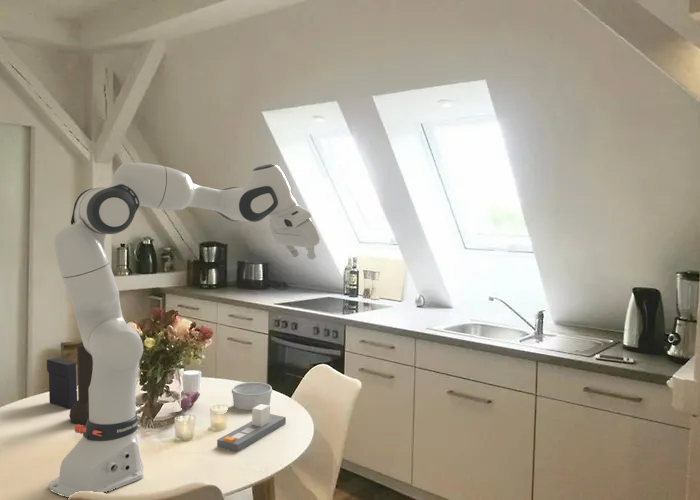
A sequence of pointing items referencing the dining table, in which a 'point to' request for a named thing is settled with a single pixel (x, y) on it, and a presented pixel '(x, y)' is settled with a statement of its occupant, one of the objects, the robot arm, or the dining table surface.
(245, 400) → the ramekin
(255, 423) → the charger
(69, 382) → the dark blue lidded box
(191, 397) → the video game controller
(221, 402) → the dining table surface
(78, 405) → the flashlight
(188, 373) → the white cup
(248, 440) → the power strip
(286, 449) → the dining table surface
